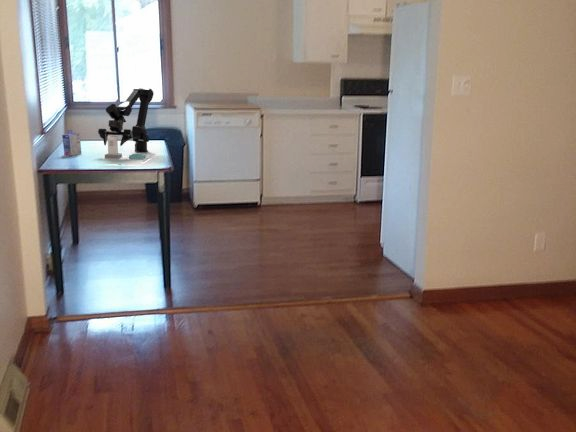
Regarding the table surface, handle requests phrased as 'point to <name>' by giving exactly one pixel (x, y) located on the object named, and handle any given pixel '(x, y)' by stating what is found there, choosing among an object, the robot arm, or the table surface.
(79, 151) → the ink cartridge box
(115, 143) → the plug
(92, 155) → the table surface
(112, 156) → the socket board
